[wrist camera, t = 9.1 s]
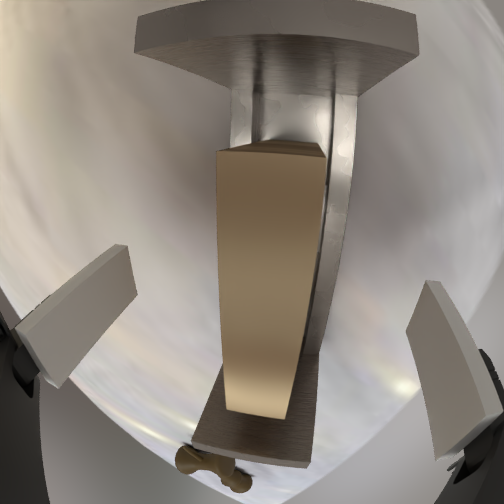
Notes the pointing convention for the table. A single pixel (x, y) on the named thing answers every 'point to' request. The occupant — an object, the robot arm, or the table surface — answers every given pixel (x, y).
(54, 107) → the table surface
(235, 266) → the door panel
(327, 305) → the grey u-shaped piece
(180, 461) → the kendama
